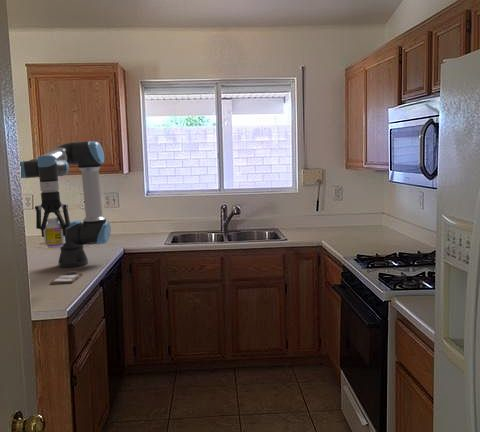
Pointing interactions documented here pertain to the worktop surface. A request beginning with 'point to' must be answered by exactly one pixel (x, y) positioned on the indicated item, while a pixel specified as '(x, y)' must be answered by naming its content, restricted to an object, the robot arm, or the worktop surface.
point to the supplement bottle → (53, 233)
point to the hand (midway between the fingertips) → (55, 243)
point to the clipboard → (67, 278)
